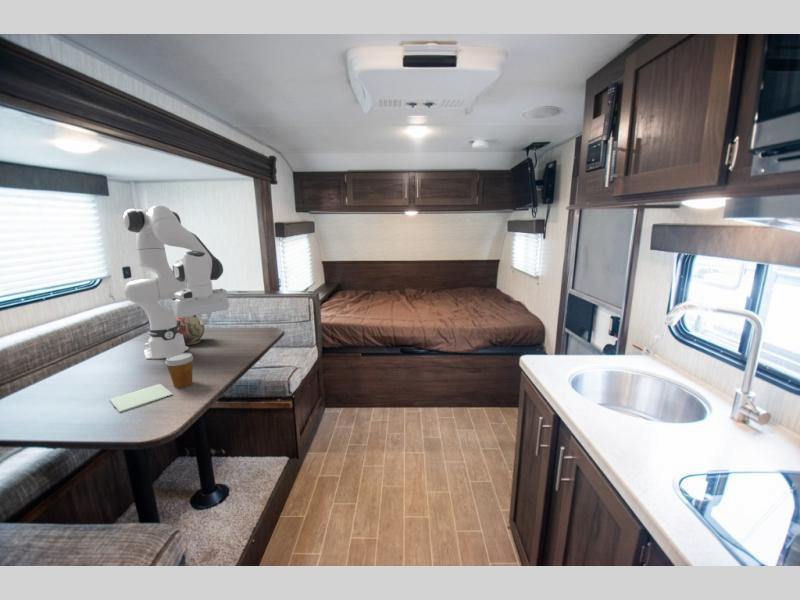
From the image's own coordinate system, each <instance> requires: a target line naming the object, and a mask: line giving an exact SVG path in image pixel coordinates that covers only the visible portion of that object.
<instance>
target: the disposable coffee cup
mask: <svg viewBox="0 0 800 600" xmlns="http://www.w3.org/2000/svg"><path fill="white" fill-rule="evenodd" d="M193 360H194V356H193V354H192V353H190V352H183V353H179V354H175V355H172V356H169V357H167V358H165V362H164V363H165V365H166V366H167V369H168V372H169V375H170V379H171V381H172V384H173V386H174V388H175V387H177V389H181V388H180V387H182V388H186V387H189V386H191V385H192V384H193Z"/></svg>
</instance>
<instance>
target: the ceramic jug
mask: <svg viewBox="0 0 800 600" xmlns="http://www.w3.org/2000/svg"><path fill="white" fill-rule="evenodd" d="M176 299H177V298H175V299H171V300H172V301H175V300H176ZM176 322H177V325H178V327H179V333H180V334H182V335H183V338H184V343H185V346H190V345H195V344H198V343H199V344H200V342H202V341H201V339H202V337H203V336H204V334H205V324H203V325H201V324H200V320H199V319H198V318H197V317H196V315H194V316H189V317H183V318H178V317H176Z"/></svg>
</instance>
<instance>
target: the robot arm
mask: <svg viewBox="0 0 800 600" xmlns="http://www.w3.org/2000/svg"><path fill="white" fill-rule="evenodd" d="M122 221H123V224H124V228H126V229H127V230H128V231H129V232H133V233H136V234H135V235H136V236H135V239H136V240H135V243H136V251H137V257H138V264H139V266H140V268H142V269H144V270H146V271H148V272H152V273H154V274H156V275H157V277H156V278H142V279H141V278H139V279H135V280H132V281H128V282H127V283H126V284H125V286H124V289H123V294H124V296H125V298H126V299H128V301H130V302H132V303H134V304H136V305H138V306H139V307H141V308H142V309H143V311H144V312H145V314H146V317H147V318H148V323H149V336H150V337H149V338H148V340H147V343H146V342H145V343H144V348H145V349H144V350H143V352H144V353H143V354H144V357H145V360H152V359H153V360H154V359H156V360H157V359H158V360H159V359H166V358H167V357H169V356H172V355H175V354H179V353H185V352H187V350H189V348H190V347H189V346H188V345H185V343H184V338H183V335H182V334H180V333H179V327H178V325H177V322H176V317H178V318H183V317H189V316H194V315H196V317H197V318H198V319H199V320H200V324H201V325H203V324H204V325H207V324H210V319H211V317H212V313H215V312H222V311H227V310H229V308H230V303H229V299H228V291H227V290H226V289H225V288H219V289H218V288H217V289H216V288H214V287H213V282H212V281H217V280H218V279H220V278H221V276H222V275H223V273H224V267H223V264H222V262H221V261H220V260H219V259H218V258H217V257H216V256H215V255H213V253H212V252H211V251H210V250H209V248H207V246H206V244H204V242H203V241H202V240H201V239H200V238H199V237H198V236H197V234H195V233H193V232H191V231H190V230H188V229H186V228H185V227H184V226H183V225H182V223H181V222H182V221H181V218H180V216H179V214H178V213H177V212H176V211H173V210H171V209H170V208H168V207H167V206H165V205H155V206H152V207H150V208H149V209H147V208H141V209H140V208H139V209H137V208H129V209H126V210H125V211H124V213H123V216H122ZM166 245H167V246H169V247H176V248H181V249H187V250H189V251H186V252H184V254H183V258H180V259H178V260H176V261H175V262H174V264H173V265H172V268H171V266H170V265H169V264H170V263H169V261H168V257H167V252H166V247H165V246H166ZM175 298H177V299H176V300H173V308H171V307H168V306H166V305H162V304H159V301H164V300H172V299H175ZM204 314H205V315H206V316H205V319H202V316H203V315H204Z"/></svg>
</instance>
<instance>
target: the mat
mask: <svg viewBox="0 0 800 600" xmlns="http://www.w3.org/2000/svg"><path fill="white" fill-rule="evenodd" d="M170 395H172V396H173V395H174V394H173V393H172V392H171V391H170V390H169V389H168V388H166V387H165V386H164V385H162V384H161V383H157V384H154V385H152V386H148V387H145V388H142V389H138V390H135V391H132V392H128V393H124V394H123V395H122V394H121V395H118V396H115V397H112V398H109V399H108V400H109V402H110V403H111V404H112V405H113V407H114V408H115V410H117V411H118V412H119V414H120V413H123V412H124V413H125V412H127V411H129V410H134V409H135V408H139V407H141V406H144V405H147V403H148V404H150V402H151V403H154V402H157V401H160V400H162V399H161V398H163V399H165V398H164V397H166V398H168V397H167V396H169V397H171V396H170ZM159 399H160V400H159ZM156 400H157V401H156ZM153 401H154V402H153Z"/></svg>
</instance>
